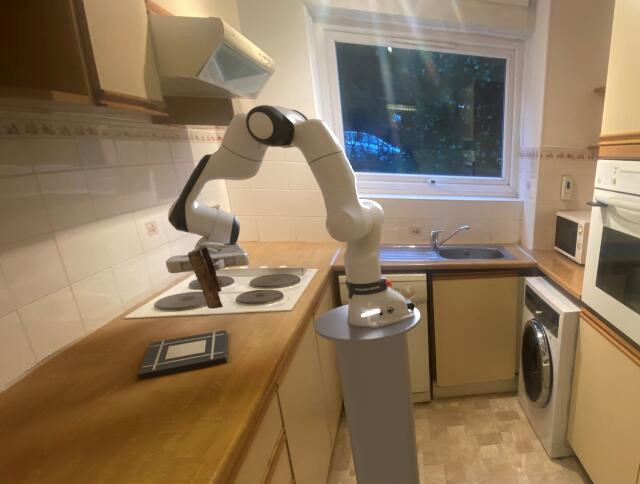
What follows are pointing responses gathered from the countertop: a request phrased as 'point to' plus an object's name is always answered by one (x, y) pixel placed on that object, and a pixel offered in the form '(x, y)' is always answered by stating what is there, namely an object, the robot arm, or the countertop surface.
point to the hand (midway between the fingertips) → (208, 267)
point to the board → (184, 354)
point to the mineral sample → (206, 276)
